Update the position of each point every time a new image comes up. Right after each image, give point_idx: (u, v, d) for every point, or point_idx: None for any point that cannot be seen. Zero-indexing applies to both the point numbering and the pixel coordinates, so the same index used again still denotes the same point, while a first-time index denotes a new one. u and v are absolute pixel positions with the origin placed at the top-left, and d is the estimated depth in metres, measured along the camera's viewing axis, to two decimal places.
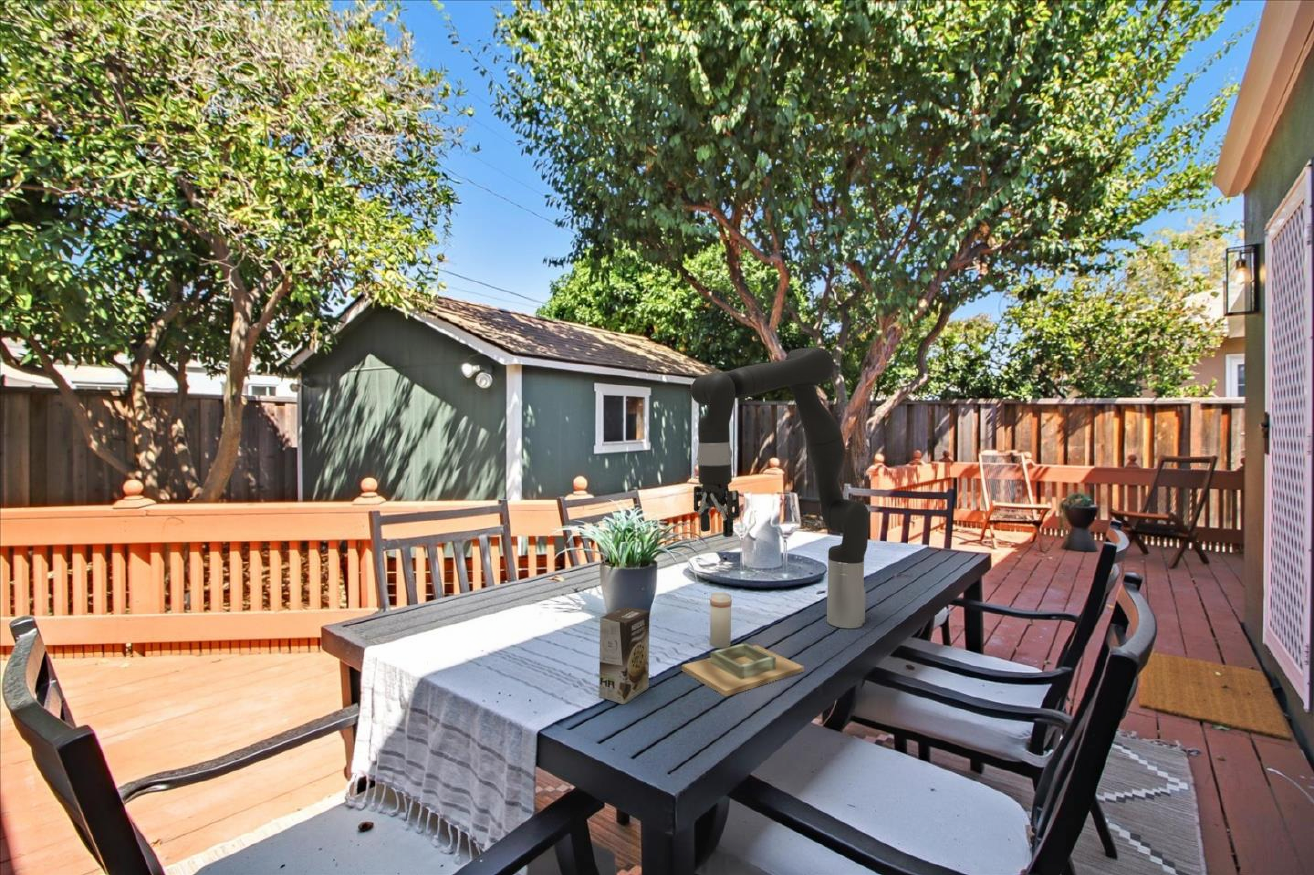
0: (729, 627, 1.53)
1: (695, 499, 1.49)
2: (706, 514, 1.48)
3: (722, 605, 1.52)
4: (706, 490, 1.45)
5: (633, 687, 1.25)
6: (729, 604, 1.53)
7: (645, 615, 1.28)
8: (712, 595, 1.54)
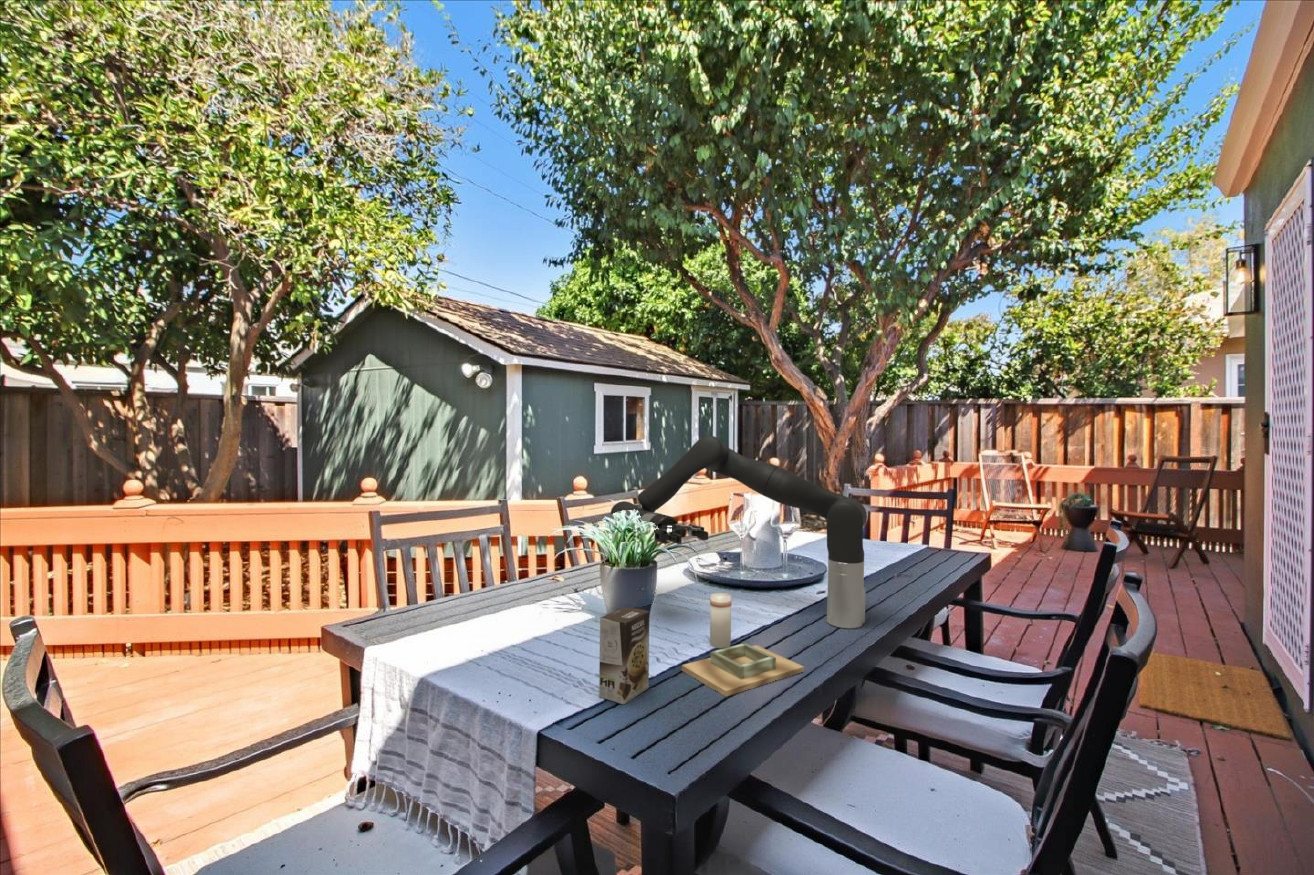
0: (729, 627, 1.53)
1: None
2: (697, 532, 1.68)
3: (722, 605, 1.52)
4: None
5: (633, 687, 1.25)
6: (729, 604, 1.53)
7: (645, 615, 1.28)
8: (712, 595, 1.54)
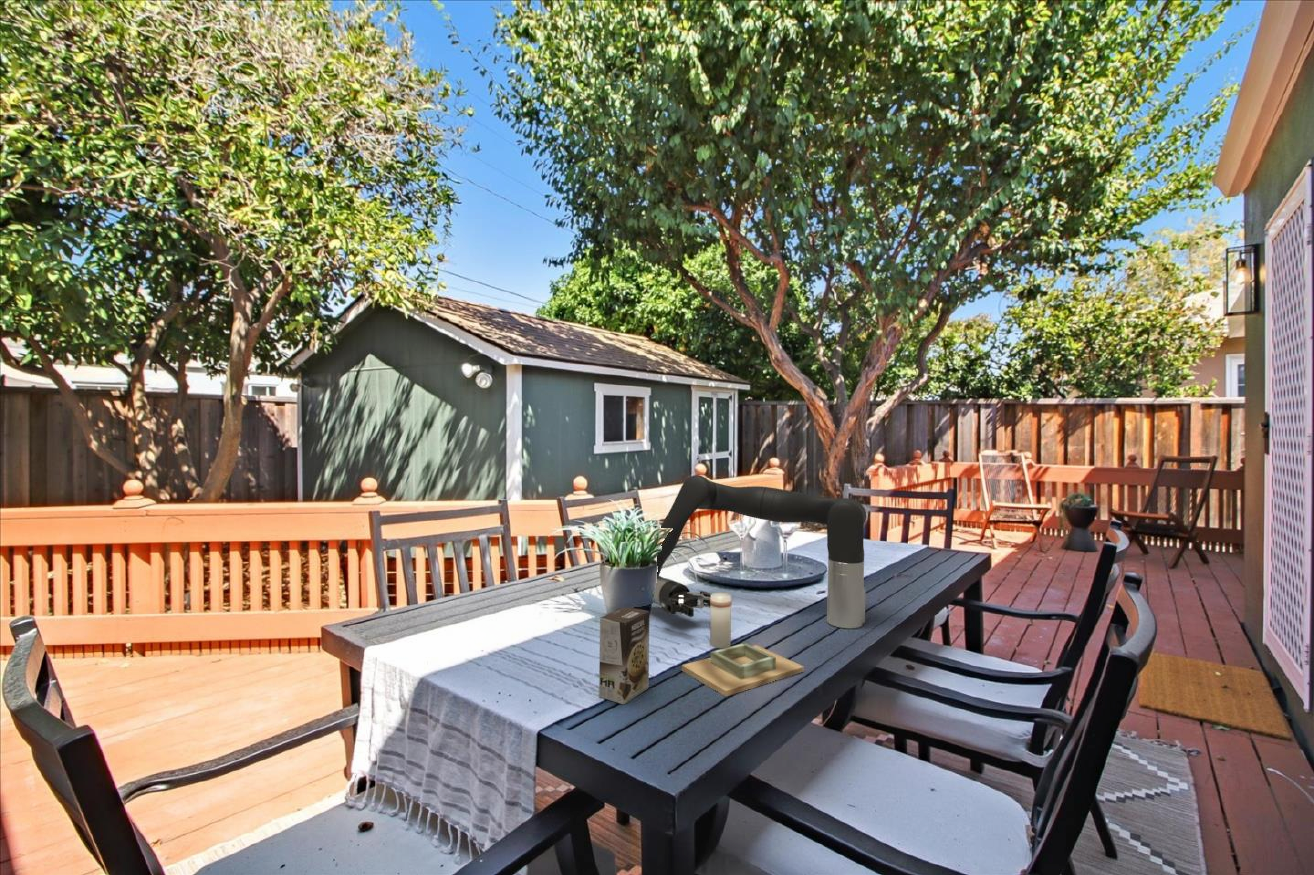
0: (729, 627, 1.53)
1: None
2: (709, 602, 1.65)
3: (722, 605, 1.52)
4: None
5: (633, 687, 1.25)
6: (729, 604, 1.53)
7: (645, 615, 1.28)
8: (712, 595, 1.54)
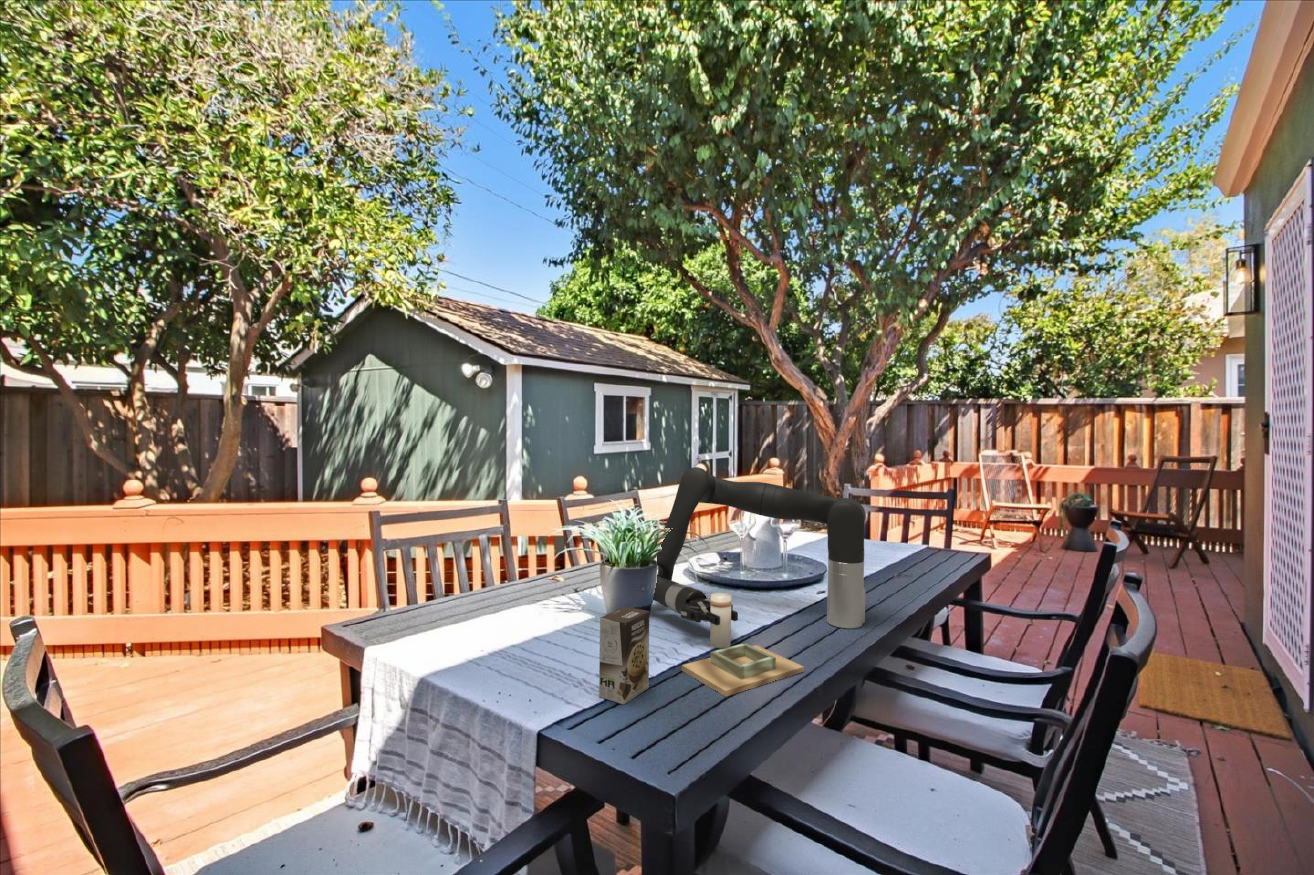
0: (729, 627, 1.53)
1: None
2: None
3: (722, 605, 1.52)
4: None
5: (633, 687, 1.25)
6: (729, 604, 1.53)
7: (645, 615, 1.28)
8: (712, 595, 1.54)
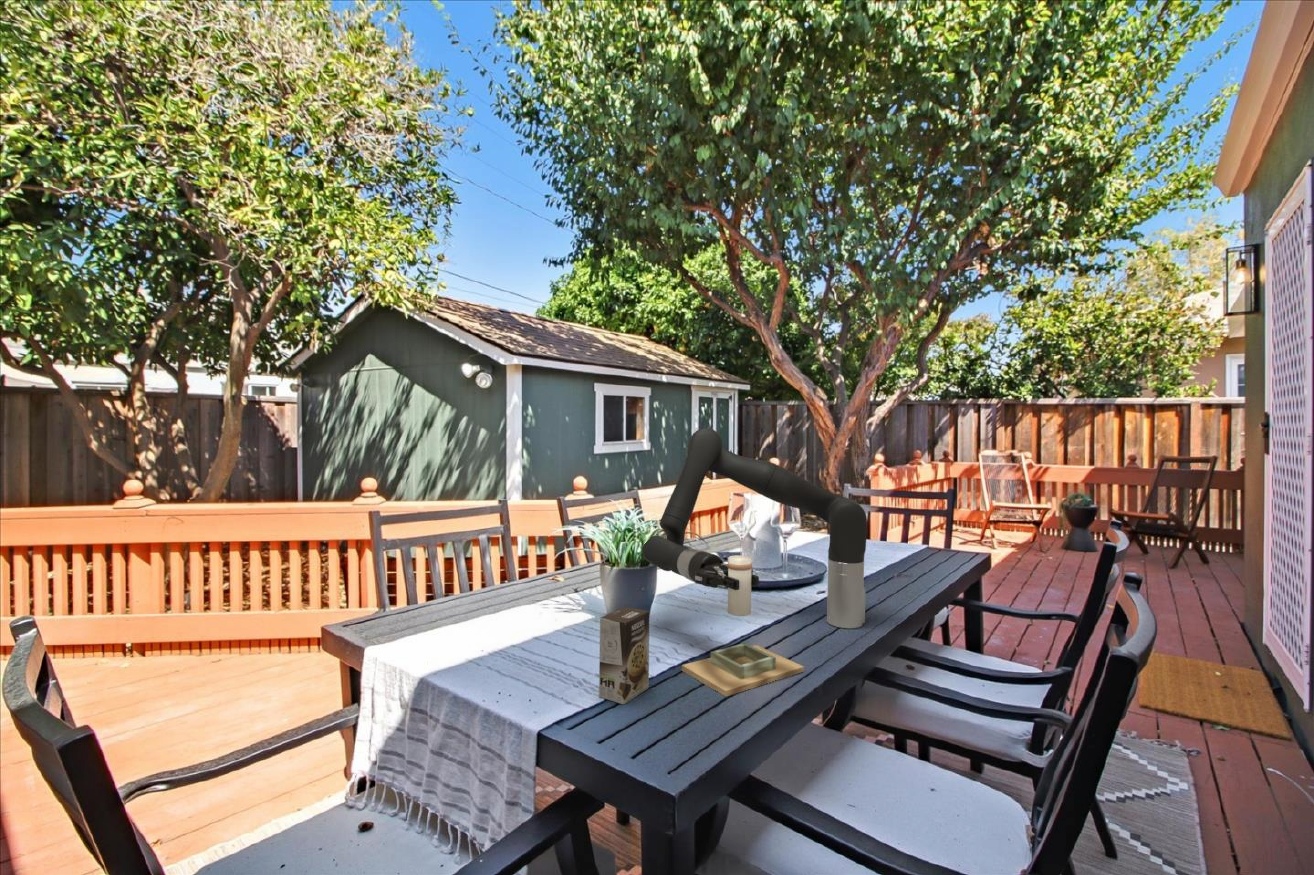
0: (749, 593, 1.38)
1: None
2: None
3: (742, 568, 1.36)
4: None
5: (633, 687, 1.25)
6: (749, 567, 1.37)
7: (645, 615, 1.28)
8: (730, 557, 1.39)
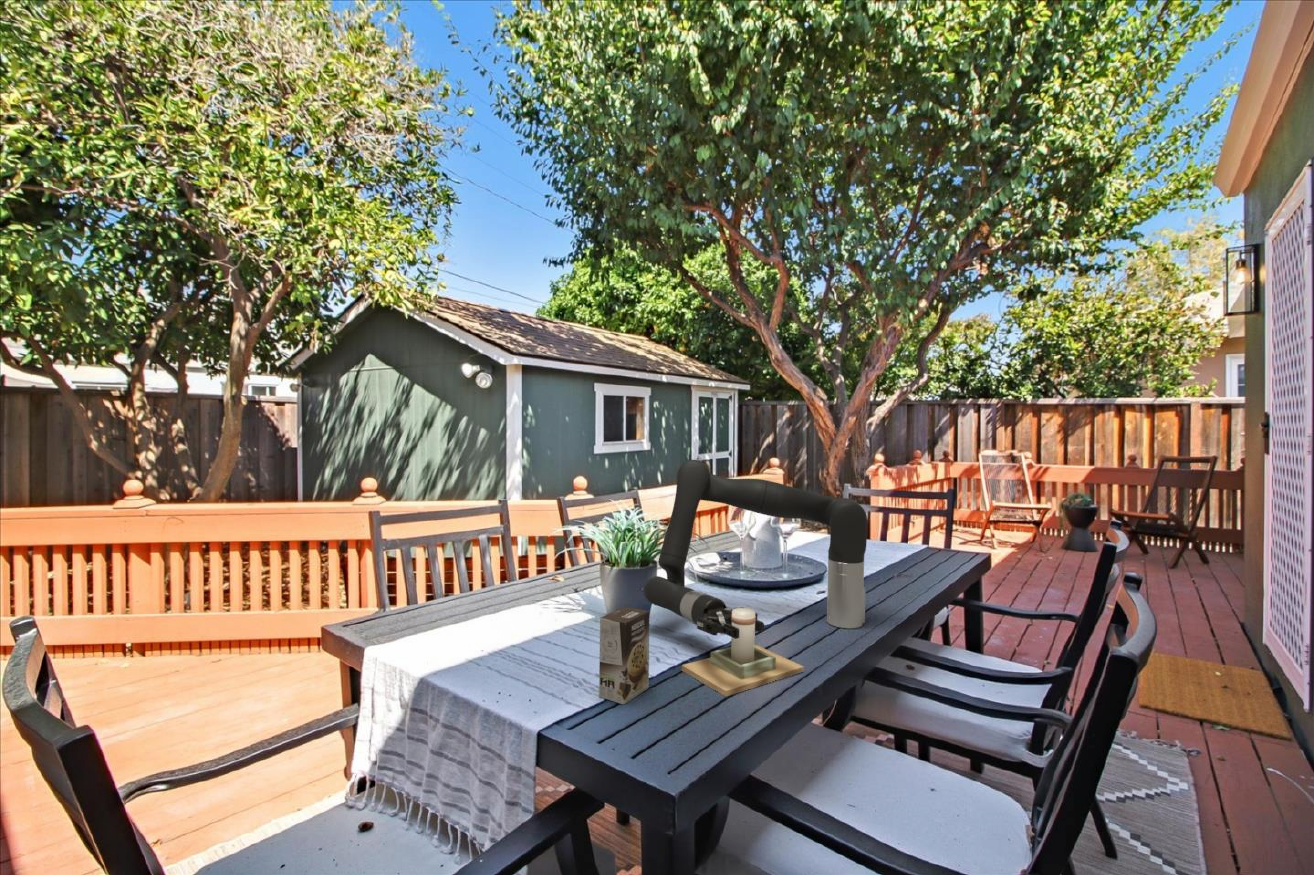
0: (753, 647, 1.38)
1: None
2: None
3: (745, 622, 1.36)
4: None
5: (633, 687, 1.25)
6: (753, 621, 1.37)
7: (645, 615, 1.28)
8: (734, 611, 1.39)
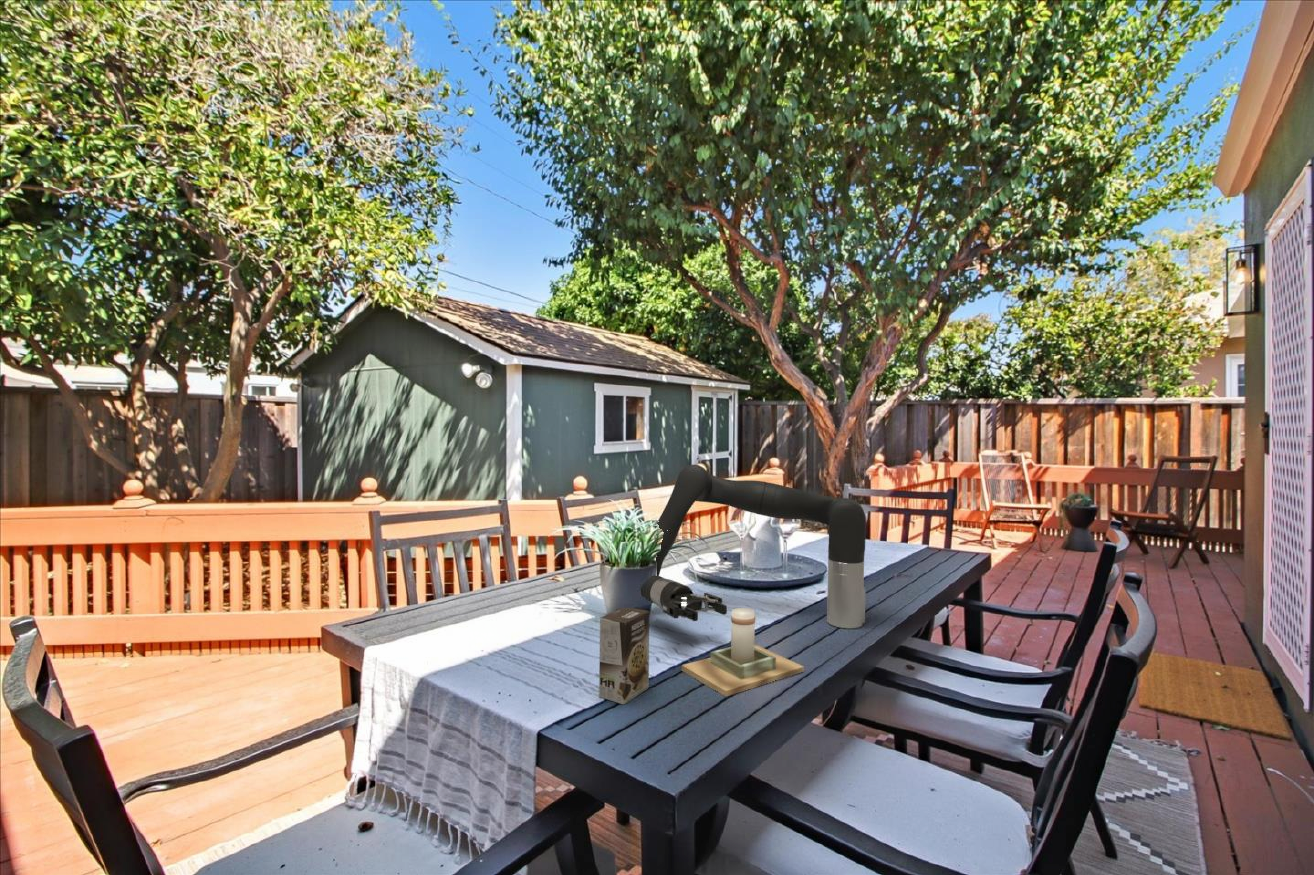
0: (752, 647, 1.38)
1: None
2: (714, 605, 1.53)
3: (745, 622, 1.36)
4: None
5: (633, 687, 1.25)
6: (753, 621, 1.37)
7: (645, 615, 1.28)
8: (733, 611, 1.39)
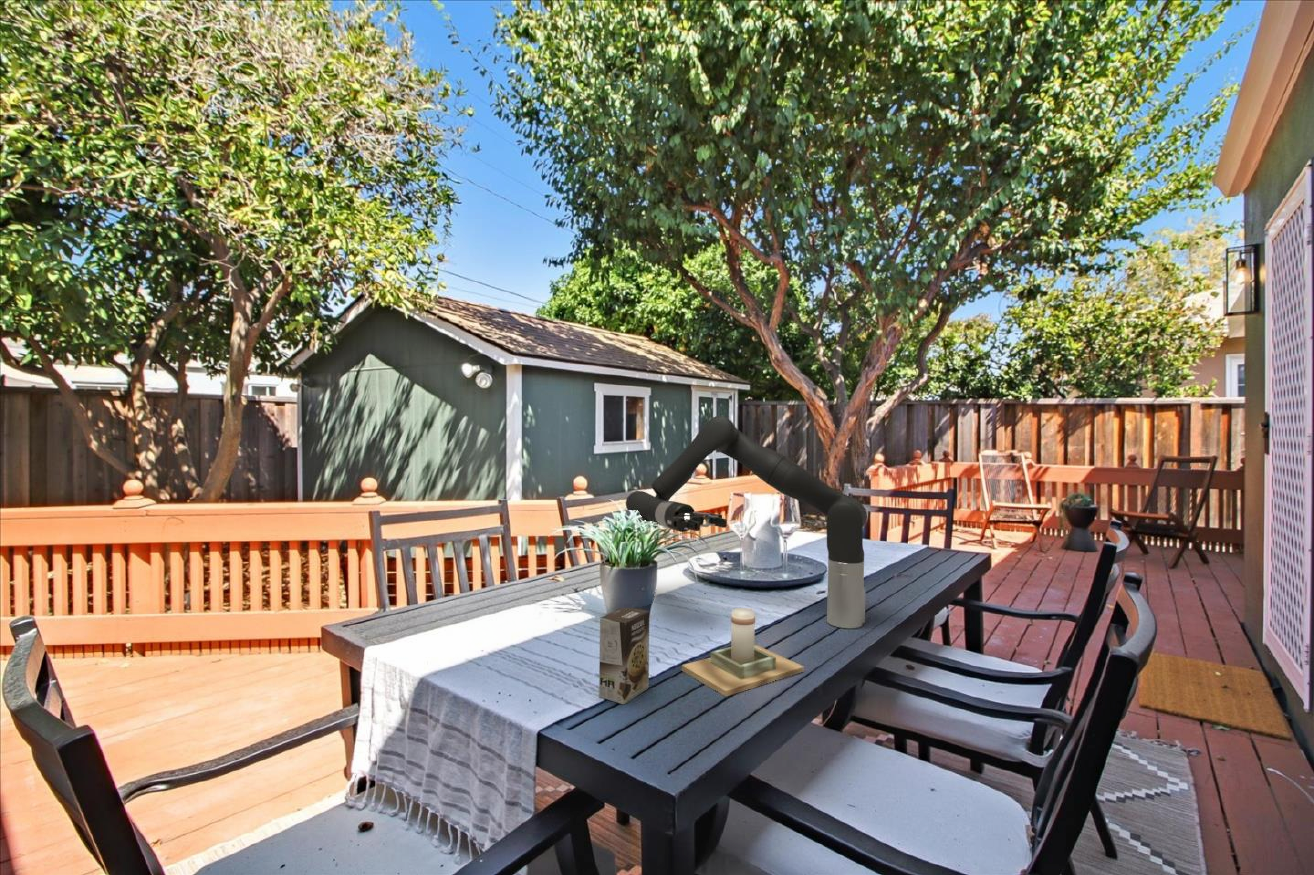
0: (752, 647, 1.38)
1: None
2: (715, 520, 1.65)
3: (745, 622, 1.36)
4: None
5: (633, 687, 1.25)
6: (753, 621, 1.37)
7: (645, 615, 1.28)
8: (733, 611, 1.39)
